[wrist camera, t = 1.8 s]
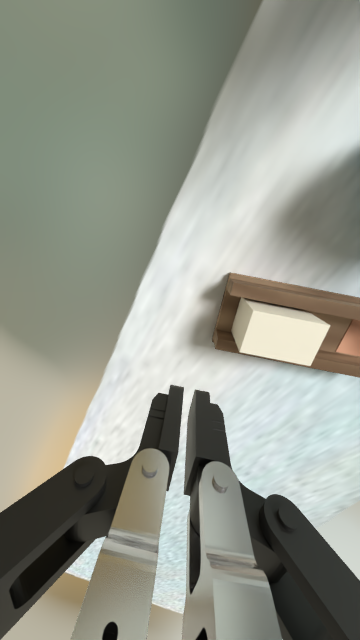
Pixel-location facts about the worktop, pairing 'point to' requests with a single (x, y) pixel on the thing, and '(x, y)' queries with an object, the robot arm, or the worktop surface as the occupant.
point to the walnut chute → (335, 309)
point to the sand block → (278, 331)
